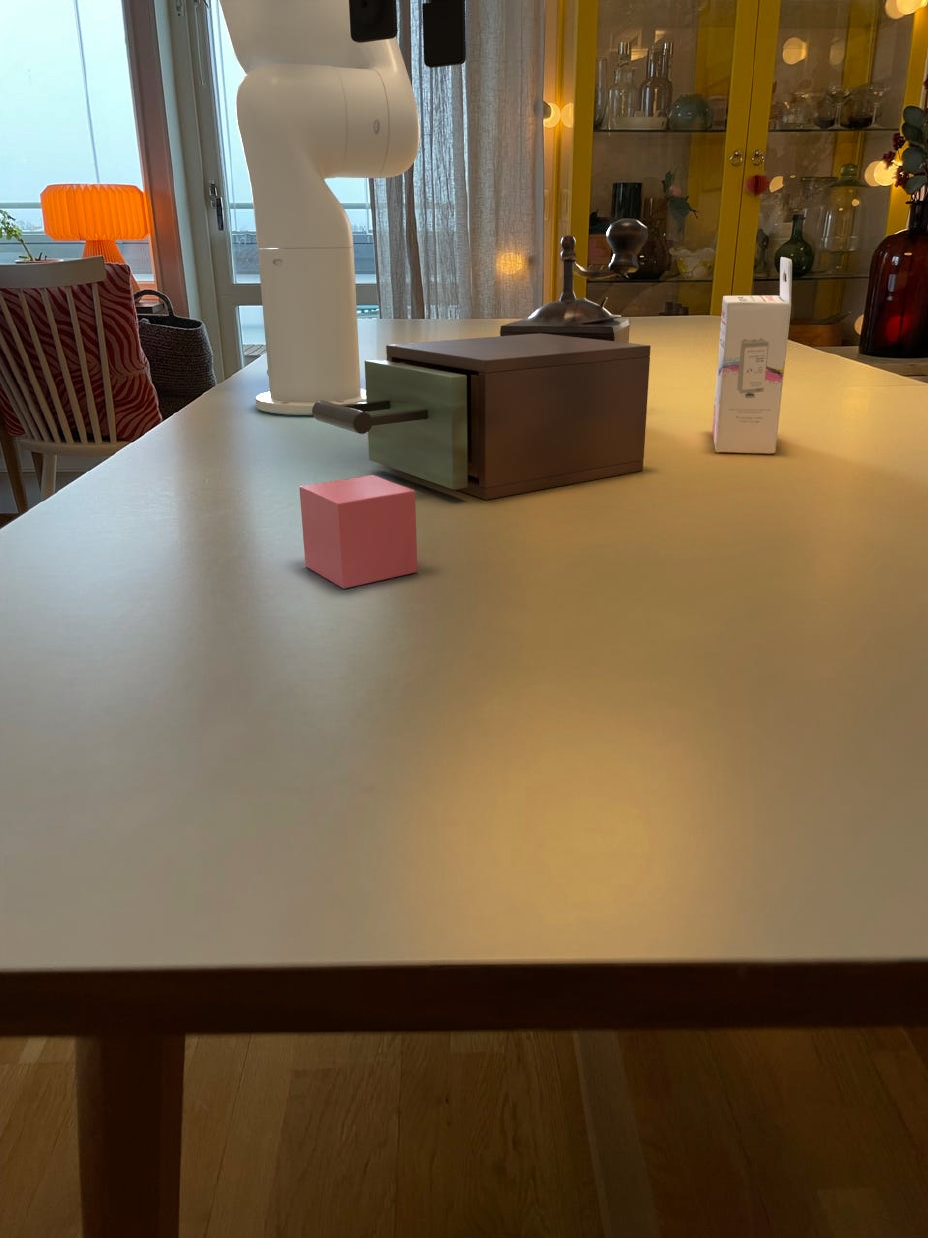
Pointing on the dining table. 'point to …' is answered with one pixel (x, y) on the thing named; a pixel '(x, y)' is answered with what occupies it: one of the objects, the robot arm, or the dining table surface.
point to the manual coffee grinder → (582, 313)
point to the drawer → (416, 419)
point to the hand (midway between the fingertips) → (411, 53)
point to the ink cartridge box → (752, 369)
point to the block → (359, 530)
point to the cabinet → (548, 407)
